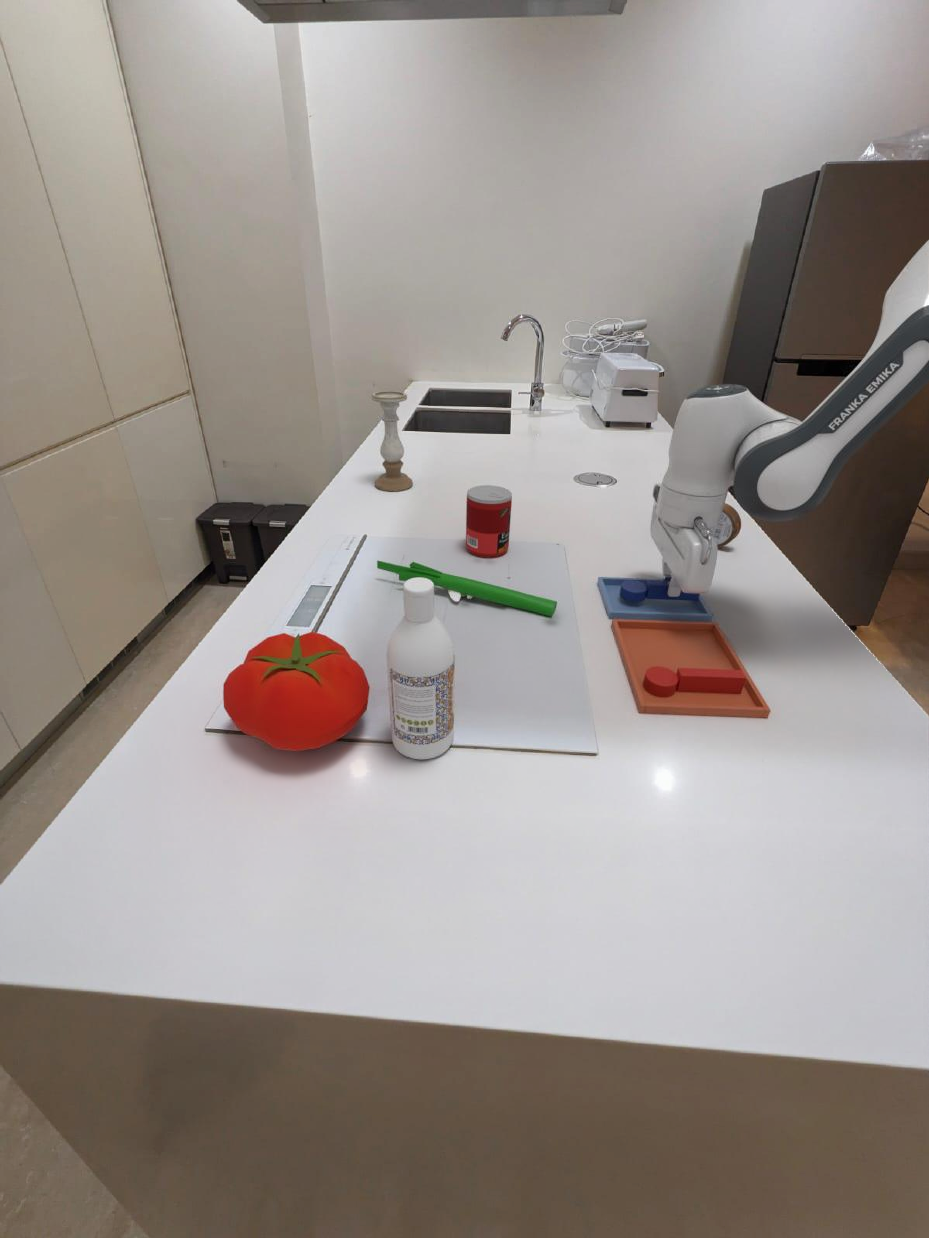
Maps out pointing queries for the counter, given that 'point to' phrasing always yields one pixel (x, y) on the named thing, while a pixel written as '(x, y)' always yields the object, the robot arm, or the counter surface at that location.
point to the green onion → (472, 588)
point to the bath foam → (421, 676)
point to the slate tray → (649, 605)
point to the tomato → (296, 692)
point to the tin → (726, 526)
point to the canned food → (488, 520)
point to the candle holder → (391, 444)
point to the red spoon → (692, 681)
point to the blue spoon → (650, 591)
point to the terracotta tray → (683, 649)
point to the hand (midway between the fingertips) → (669, 589)
